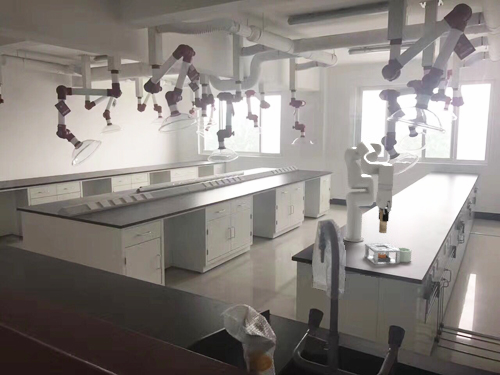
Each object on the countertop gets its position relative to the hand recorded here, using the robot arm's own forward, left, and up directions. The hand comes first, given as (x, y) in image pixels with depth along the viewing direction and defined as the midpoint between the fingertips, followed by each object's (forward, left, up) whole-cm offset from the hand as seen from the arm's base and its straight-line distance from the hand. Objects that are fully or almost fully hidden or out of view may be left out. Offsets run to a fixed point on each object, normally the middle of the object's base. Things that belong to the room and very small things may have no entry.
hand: (383, 220), depth 216 cm
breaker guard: (0, 0, -22) cm, 22 cm away
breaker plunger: (0, 0, -22) cm, 22 cm away
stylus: (0, 0, -7) cm, 7 cm away
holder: (+2, +12, -22) cm, 25 cm away
